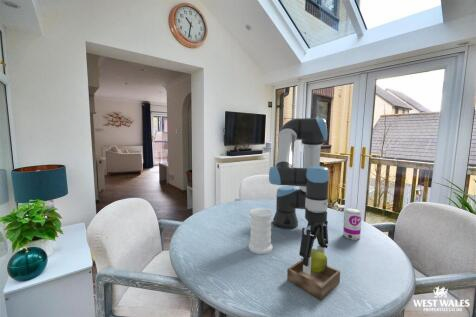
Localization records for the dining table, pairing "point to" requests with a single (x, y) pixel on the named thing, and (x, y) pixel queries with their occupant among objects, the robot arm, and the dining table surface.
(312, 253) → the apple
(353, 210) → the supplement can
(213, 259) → the dining table surface
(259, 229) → the decorative container
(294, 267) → the walnut box
